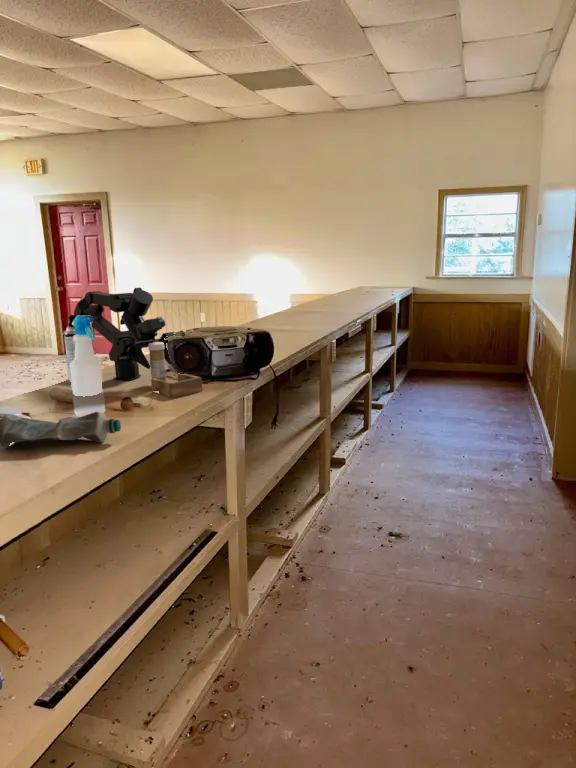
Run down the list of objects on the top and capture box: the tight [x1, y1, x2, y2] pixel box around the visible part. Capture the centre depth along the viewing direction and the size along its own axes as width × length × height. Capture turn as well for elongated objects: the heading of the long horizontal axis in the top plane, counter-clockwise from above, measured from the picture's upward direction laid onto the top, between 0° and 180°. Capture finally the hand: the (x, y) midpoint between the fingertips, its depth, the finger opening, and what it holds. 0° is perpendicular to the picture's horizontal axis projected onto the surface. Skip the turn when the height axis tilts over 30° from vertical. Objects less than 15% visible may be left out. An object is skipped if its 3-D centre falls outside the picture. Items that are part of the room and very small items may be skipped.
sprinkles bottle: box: [147, 342, 167, 381], centre depth 166 cm, size 5×5×13 cm
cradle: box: [150, 372, 203, 399], centre depth 161 cm, size 10×10×4 cm
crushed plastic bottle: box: [0, 411, 122, 449], centre depth 119 cm, size 13×7×25 cm
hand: (160, 365), depth 165 cm, fingers open, 7 cm apart
